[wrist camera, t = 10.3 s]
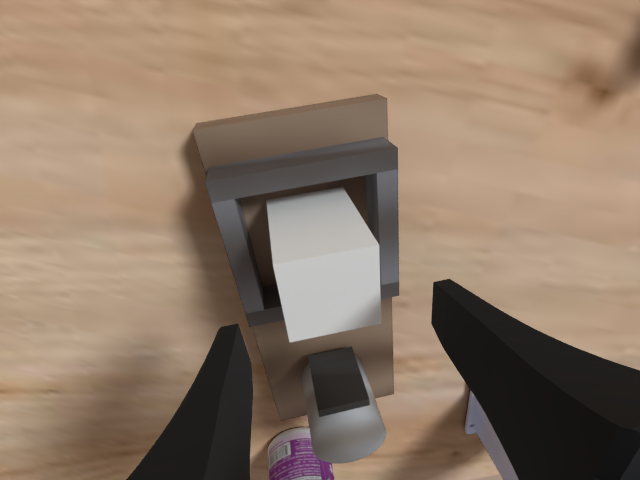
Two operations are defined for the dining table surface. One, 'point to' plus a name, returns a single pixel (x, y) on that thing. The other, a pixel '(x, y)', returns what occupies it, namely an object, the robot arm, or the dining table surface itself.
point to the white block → (324, 264)
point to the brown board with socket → (257, 266)
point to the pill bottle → (296, 458)
